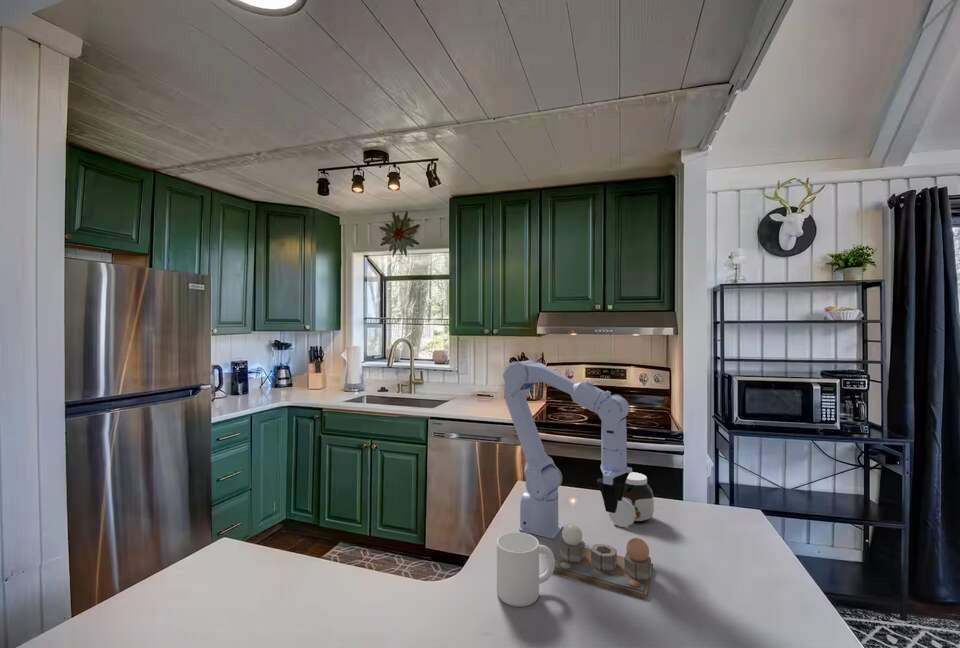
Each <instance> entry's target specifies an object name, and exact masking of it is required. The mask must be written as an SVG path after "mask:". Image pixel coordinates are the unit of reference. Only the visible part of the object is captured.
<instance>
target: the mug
mask: <svg viewBox="0 0 960 648" xmlns="http://www.w3.org/2000/svg"><path fill="white" fill-rule="evenodd" d="M540 554H544V555H545V556H546V557H547V568H546V569H545V571H544V573H542V574H540ZM555 562H556V560H555V556H554V553H553V551H552V550H551V549H550V548H549V547H548V546H546V545H544V544H540V542H539V540H538V539H537V538H536V537H535V536H533V534H531V533H527V532H523V531H513V532H507V533H506V532H505V533H502V534H501V535H500V536H498V537H497V539H496V592H497V597H499V600H500V601H502V602H503V603H505V604H506V605H508V606H510V607H515V608H517V607H518V608H522V607H528V606H530V605H532V604H534V603H535V602H536V601H538V600H537V599H538V598H539V594H540V584H543V583H545V582H547V581H548V580H549V579H550V578H551V577H552V575H553V574H554V573H553V571H554V567H555Z"/></svg>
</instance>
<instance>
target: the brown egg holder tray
mask: <svg viewBox="0 0 960 648" xmlns="http://www.w3.org/2000/svg"><path fill="white" fill-rule="evenodd" d="M617 552H618V550H617V549H616V548H615V547H613V546H611V545H609V544H605V543H595V544H593V545H592V546H591V548H588V547H585V541H584V540H583V539H582V540H581V542H580V543H579V544H578V545H576V546H570V545H568V544H566V543H565V542H564V540H563V538H561V540H560V541H559V556H558V557H557V559H556V560H555V567H554V571H553V573H552V574H554V575H558V576H561V577H564V578H565V577H566V578H568V579H572V580H576V581H580V582H583V583H587V584H588V585H589V584H590V585H594V586H597V587H599V588H600V587H601V588H605V589H609V590H611V591H615V592H618V593H622V594H627V595H630V596H633V597H637V598H640V599H643V600H647V598H648V593H649V591H650V585H651V581H652V580H651V579H652V576H653V571H654V563H652V558H651V556H650V555H649V556H648V558H647V559H646V560H645V561H643V562H636V561H634V560H632V559H631V558H630V557H629V555H628V553H627V552H625V554H624V555H625V556H622V555H618V553H617Z"/></svg>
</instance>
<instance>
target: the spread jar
mask: <svg viewBox="0 0 960 648" xmlns="http://www.w3.org/2000/svg"><path fill="white" fill-rule="evenodd" d="M654 502H655V500H654V493H653V490H652V488H651V487H650V485H649V484H648V477H647V475H645V474H643V473H641V472H640V473H639V472H634V471H632V472H631V473H629V475H628V477H627V480H626V483H625V487H624V493H623V497H622V500H621V501H618V504H617V509H616V512H615V513H611V512H608V516H609V519H610V520H611V522H612V523H613V524H615V525H616V526H617V527H623V528H625V527H630V526H631V525H633V524H634V525H644V524H646V523H647V522H649V521H651V520H652V519H653V516H654V510H655V509H654V507H655V505H654Z"/></svg>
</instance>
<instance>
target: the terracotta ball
mask: <svg viewBox="0 0 960 648" xmlns="http://www.w3.org/2000/svg"><path fill="white" fill-rule="evenodd" d="M648 545H649V544H647V543H646V541H644V540H643V539H642V538H640V537H633V538H631V539H629V540H628V541H627V543H626V553H628V555H629V557H630V558H631V559H632V560H634V561H636V562H643V561H645V560H646V559H647V558H648V556H649V557H650V549H649V546H648Z"/></svg>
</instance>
